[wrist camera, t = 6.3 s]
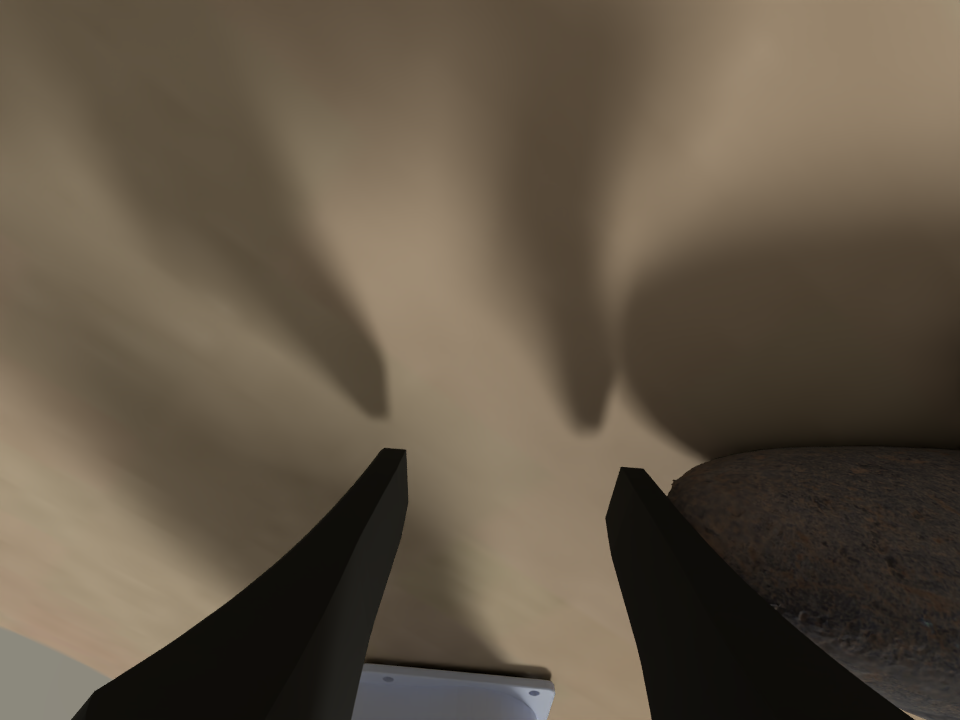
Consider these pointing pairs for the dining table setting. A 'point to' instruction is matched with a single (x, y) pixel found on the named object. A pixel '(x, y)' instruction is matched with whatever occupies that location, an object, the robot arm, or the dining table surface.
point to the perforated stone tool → (848, 555)
